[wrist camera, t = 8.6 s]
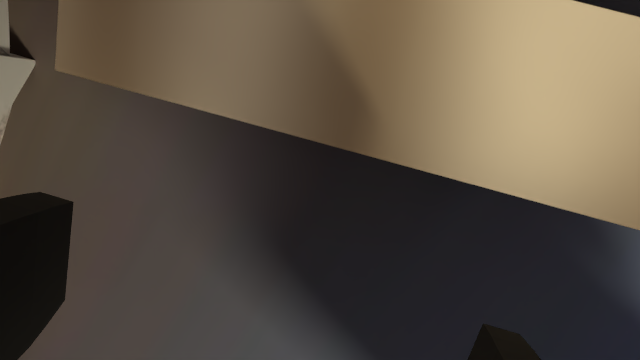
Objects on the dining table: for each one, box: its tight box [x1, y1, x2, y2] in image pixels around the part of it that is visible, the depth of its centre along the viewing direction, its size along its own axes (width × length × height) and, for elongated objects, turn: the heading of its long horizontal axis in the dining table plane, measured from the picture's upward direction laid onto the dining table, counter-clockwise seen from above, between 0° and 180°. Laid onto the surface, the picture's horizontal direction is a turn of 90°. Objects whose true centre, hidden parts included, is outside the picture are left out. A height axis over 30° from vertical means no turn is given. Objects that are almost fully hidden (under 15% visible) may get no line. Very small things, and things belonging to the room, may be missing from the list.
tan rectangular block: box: [55, 0, 640, 230], centre depth 14 cm, size 14×4×5 cm, turn 77°
